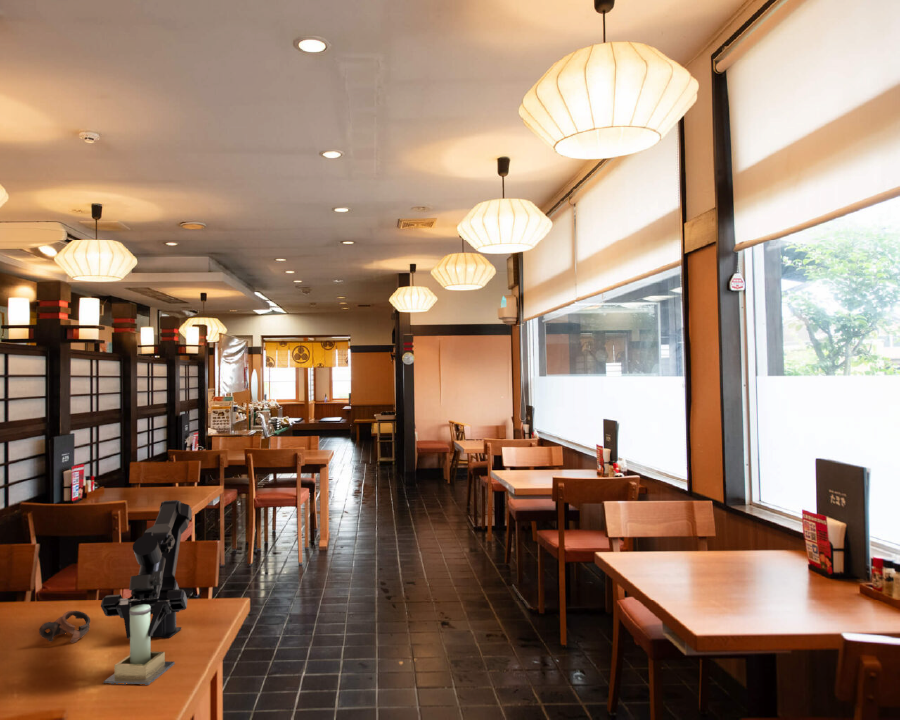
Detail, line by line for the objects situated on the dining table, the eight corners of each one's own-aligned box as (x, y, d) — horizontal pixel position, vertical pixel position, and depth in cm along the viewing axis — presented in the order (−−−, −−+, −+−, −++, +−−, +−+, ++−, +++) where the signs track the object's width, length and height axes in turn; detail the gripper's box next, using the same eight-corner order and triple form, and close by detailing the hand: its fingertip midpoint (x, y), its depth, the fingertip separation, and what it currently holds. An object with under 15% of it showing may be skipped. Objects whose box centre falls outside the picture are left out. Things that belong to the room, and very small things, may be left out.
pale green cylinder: (129, 661, 152) (129, 606, 153) (150, 656, 154) (150, 603, 155) (129, 668, 148) (129, 612, 149) (151, 664, 150) (151, 608, 151)
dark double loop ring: (74, 631, 181) (88, 606, 180) (84, 654, 175) (98, 629, 174) (29, 634, 171) (42, 608, 171) (37, 658, 165) (52, 631, 165)
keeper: (132, 663, 157) (132, 648, 157) (174, 664, 156) (174, 649, 156) (103, 683, 146) (103, 667, 146) (148, 685, 145) (148, 669, 145)
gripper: (103, 562, 154) (86, 625, 143) (184, 556, 158) (175, 617, 147) (113, 585, 162) (98, 646, 150) (191, 579, 165) (182, 638, 154)
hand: (138, 636), depth 150 cm, fingers closed on pale green cylinder, 4 cm apart
